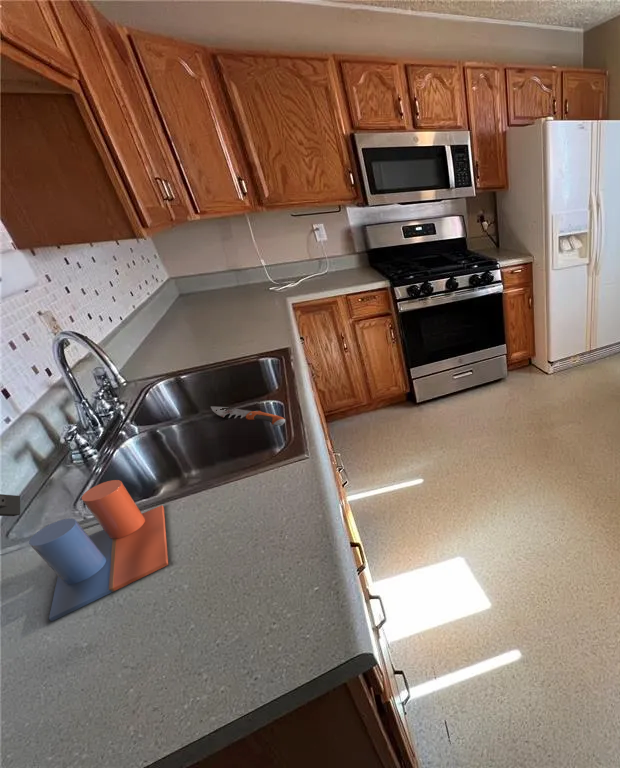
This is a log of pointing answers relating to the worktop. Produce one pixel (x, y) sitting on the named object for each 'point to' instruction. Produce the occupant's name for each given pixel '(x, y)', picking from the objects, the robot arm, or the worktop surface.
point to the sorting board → (117, 564)
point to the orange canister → (114, 509)
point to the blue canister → (68, 550)
